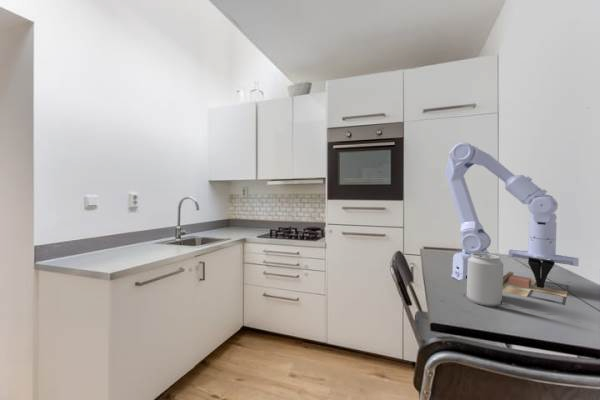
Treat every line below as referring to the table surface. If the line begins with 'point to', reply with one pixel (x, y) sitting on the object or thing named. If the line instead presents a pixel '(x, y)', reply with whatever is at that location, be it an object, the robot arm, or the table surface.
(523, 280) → the tile block
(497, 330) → the table surface
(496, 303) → the can
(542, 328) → the table surface
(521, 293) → the trap board
